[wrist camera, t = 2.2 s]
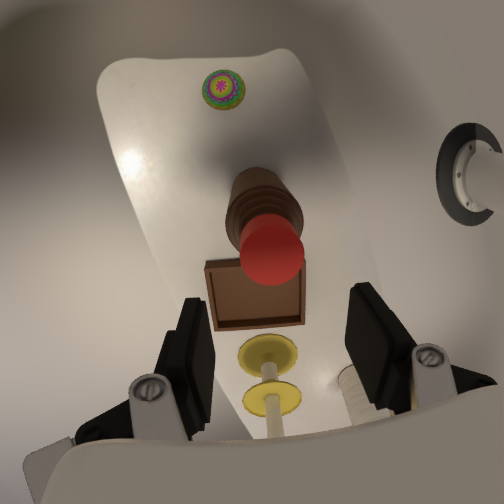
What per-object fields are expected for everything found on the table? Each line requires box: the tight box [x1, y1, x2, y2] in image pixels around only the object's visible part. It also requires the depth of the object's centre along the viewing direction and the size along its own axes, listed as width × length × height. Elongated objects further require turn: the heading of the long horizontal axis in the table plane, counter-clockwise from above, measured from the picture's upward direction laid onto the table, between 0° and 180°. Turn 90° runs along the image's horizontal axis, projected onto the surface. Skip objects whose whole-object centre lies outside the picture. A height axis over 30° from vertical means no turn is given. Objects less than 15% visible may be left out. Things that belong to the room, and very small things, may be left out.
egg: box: [202, 70, 245, 110], centre depth 29 cm, size 5×5×6 cm
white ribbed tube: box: [338, 365, 391, 426], centre depth 38 cm, size 9×6×25 cm
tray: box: [204, 259, 306, 332], centre depth 41 cm, size 13×10×2 cm
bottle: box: [225, 167, 304, 252], centre depth 27 cm, size 6×6×20 cm
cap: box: [240, 214, 304, 286], centre depth 19 cm, size 4×4×3 cm
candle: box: [238, 334, 302, 438], centre depth 35 cm, size 10×10×27 cm
